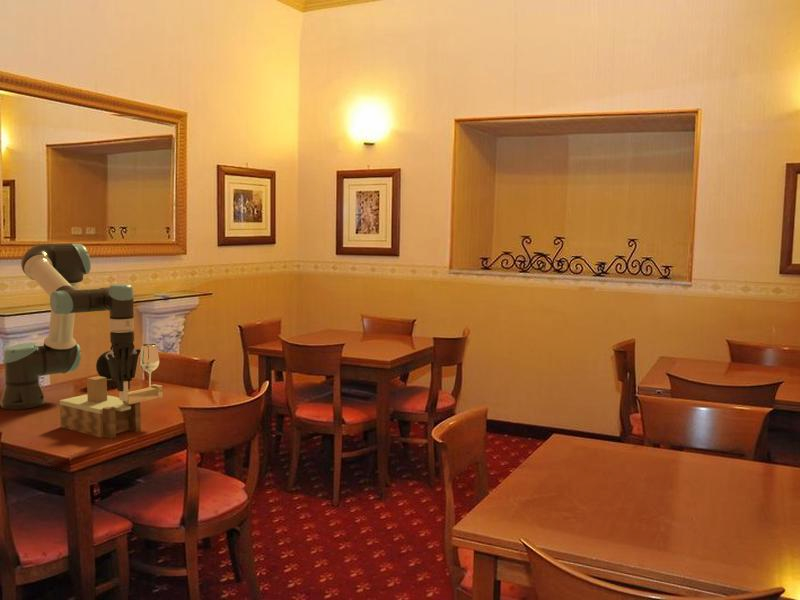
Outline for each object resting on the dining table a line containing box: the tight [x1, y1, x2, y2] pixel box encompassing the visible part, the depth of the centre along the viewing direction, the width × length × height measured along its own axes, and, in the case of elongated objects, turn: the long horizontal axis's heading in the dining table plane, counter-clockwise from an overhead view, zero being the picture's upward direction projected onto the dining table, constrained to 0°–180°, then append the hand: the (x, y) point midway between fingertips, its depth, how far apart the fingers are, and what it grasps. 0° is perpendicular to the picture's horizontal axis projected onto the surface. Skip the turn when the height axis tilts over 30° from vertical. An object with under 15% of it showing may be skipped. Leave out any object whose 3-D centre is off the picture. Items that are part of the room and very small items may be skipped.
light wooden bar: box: [123, 383, 164, 405], centre depth 260 cm, size 4×14×4 cm, turn 148°
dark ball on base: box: [95, 350, 118, 389], centre depth 326 cm, size 13×13×15 cm
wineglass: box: [138, 343, 160, 388], centre depth 313 cm, size 8×8×20 cm
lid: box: [59, 375, 131, 414], centre depth 259 cm, size 26×14×10 cm, turn 58°
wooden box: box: [59, 402, 142, 440], centre depth 260 cm, size 26×14×10 cm, turn 58°
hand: (123, 400), depth 254 cm, fingers closed
